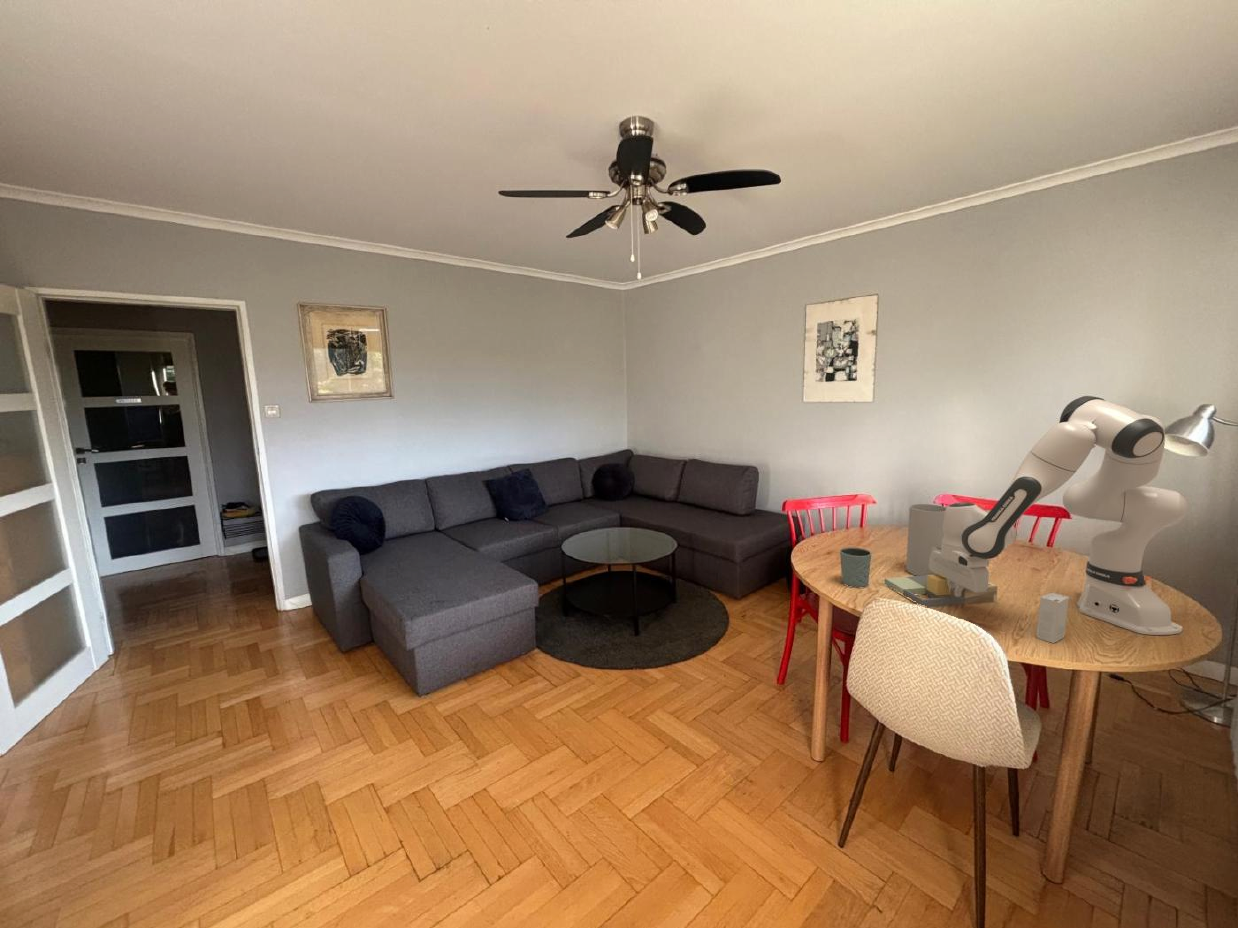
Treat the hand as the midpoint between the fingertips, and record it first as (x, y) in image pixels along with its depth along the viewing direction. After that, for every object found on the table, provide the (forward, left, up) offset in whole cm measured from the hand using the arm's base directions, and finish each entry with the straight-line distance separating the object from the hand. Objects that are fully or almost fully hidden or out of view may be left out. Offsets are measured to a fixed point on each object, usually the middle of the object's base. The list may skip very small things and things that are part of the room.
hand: (954, 594), depth 157 cm
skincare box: (-23, -10, -4) cm, 25 cm away
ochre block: (+5, +1, -1) cm, 6 cm away
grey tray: (+10, -2, -4) cm, 10 cm away
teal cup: (+22, +20, -4) cm, 30 cm away
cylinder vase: (+27, -11, -4) cm, 29 cm away
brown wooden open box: (+5, -9, -4) cm, 11 cm away
